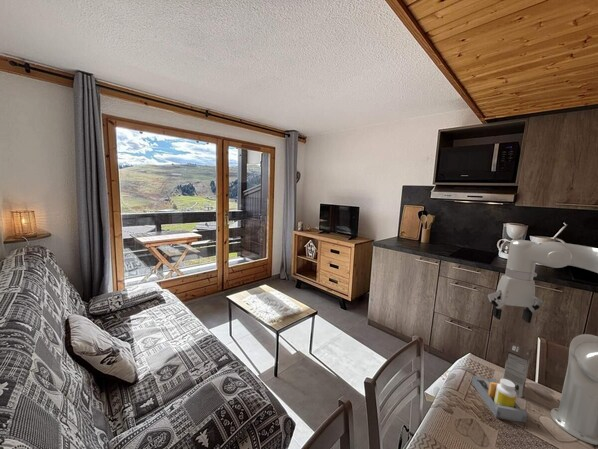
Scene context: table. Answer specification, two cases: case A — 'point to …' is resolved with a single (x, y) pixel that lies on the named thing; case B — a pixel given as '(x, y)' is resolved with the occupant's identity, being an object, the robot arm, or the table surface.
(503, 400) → the supplement bottle
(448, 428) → the table surface
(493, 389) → the pusher
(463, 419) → the table surface
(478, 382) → the lane base
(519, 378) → the coffee box
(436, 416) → the table surface
